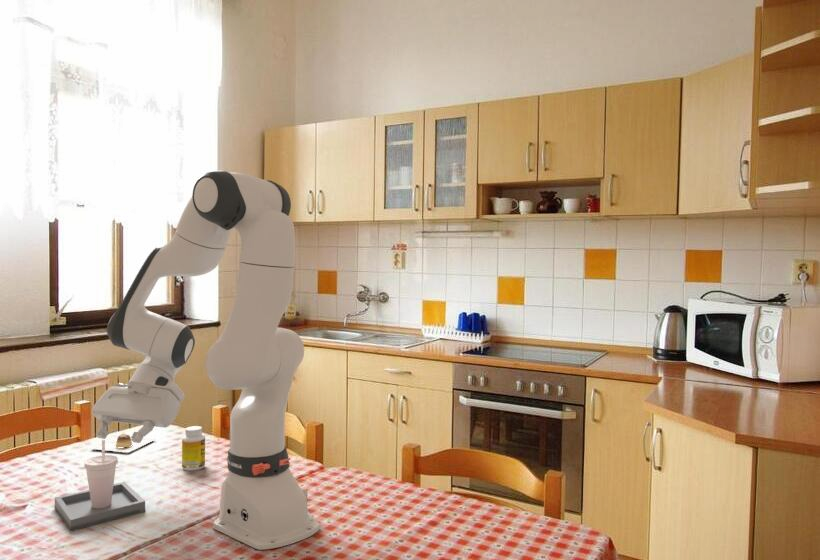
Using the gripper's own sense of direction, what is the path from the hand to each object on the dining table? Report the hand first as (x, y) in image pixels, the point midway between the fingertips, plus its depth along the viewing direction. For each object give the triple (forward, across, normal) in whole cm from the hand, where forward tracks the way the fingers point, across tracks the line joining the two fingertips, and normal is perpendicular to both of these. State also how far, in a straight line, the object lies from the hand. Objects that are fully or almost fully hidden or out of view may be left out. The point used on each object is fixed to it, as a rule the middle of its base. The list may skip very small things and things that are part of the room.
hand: (117, 439), depth 130 cm
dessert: (-12, -27, +32) cm, 44 cm away
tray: (+13, 0, +6) cm, 15 cm away
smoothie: (+12, 0, +6) cm, 14 cm away
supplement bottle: (-6, +2, +26) cm, 27 cm away
